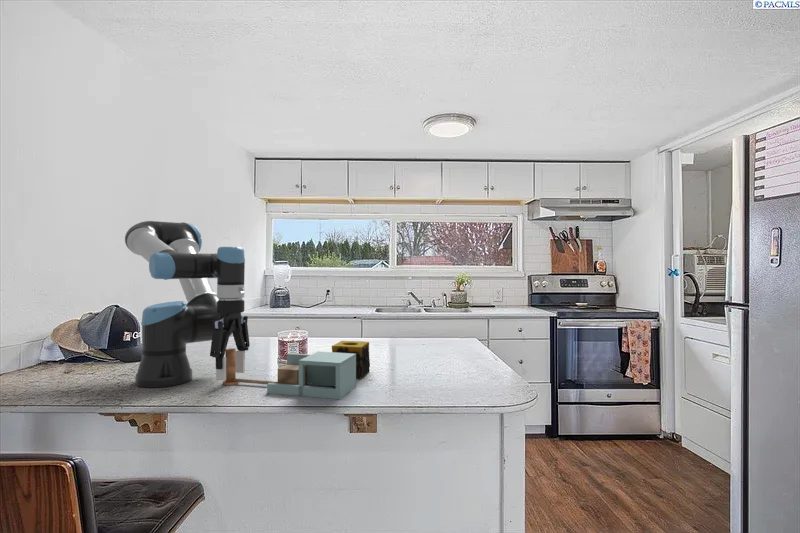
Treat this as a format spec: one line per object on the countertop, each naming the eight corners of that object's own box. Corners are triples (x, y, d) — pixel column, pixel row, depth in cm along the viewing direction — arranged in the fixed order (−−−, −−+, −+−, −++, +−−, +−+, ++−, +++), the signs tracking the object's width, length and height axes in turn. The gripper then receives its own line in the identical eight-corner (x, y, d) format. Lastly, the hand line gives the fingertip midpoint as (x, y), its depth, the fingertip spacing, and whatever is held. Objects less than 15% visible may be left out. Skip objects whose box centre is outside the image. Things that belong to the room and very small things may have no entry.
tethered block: (217, 385, 130) (217, 350, 130) (230, 380, 136) (230, 347, 136) (297, 391, 124) (297, 355, 124) (306, 386, 130) (306, 351, 130)
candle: (361, 379, 137) (361, 347, 137) (330, 377, 139) (330, 345, 139) (370, 371, 147) (370, 341, 147) (341, 370, 149) (341, 340, 149)
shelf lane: (267, 393, 123) (267, 358, 123) (288, 381, 135) (289, 349, 135) (339, 399, 117) (340, 363, 117) (355, 386, 130) (356, 353, 129)
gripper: (219, 302, 121) (219, 386, 121) (261, 296, 142) (261, 368, 142) (195, 301, 123) (195, 384, 123) (240, 296, 143) (240, 367, 144)
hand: (230, 376), depth 132 cm, fingers open, 8 cm apart
